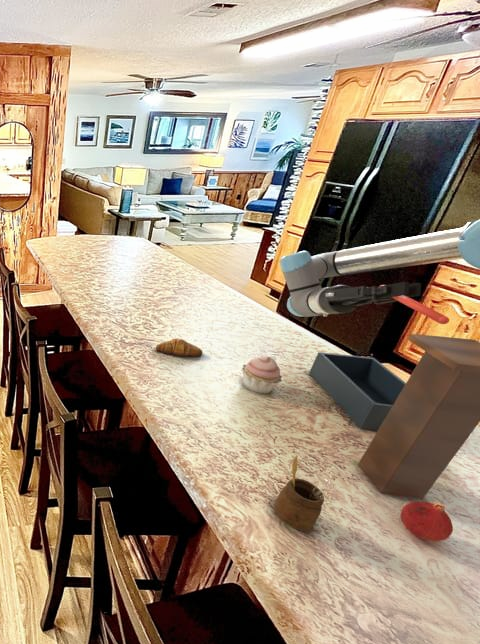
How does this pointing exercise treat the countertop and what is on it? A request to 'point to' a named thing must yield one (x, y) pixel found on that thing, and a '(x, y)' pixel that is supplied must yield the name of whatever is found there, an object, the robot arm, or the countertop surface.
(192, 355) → the croissant
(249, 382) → the cupcake
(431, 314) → the red long rounded rod
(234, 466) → the countertop surface
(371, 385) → the bin
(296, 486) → the utensil holder
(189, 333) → the countertop surface
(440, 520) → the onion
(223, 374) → the countertop surface
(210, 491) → the countertop surface
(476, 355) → the stand
